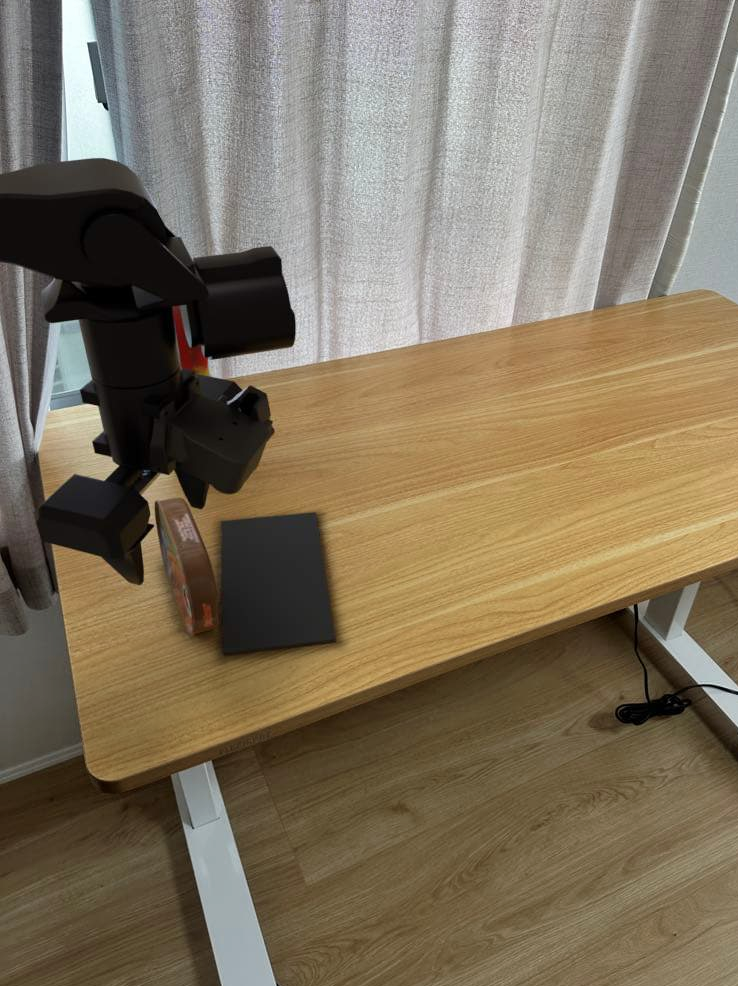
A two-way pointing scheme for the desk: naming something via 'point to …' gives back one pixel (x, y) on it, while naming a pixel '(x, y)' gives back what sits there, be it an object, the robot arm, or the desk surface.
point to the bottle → (189, 349)
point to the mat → (274, 584)
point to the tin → (187, 565)
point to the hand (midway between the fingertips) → (168, 542)
